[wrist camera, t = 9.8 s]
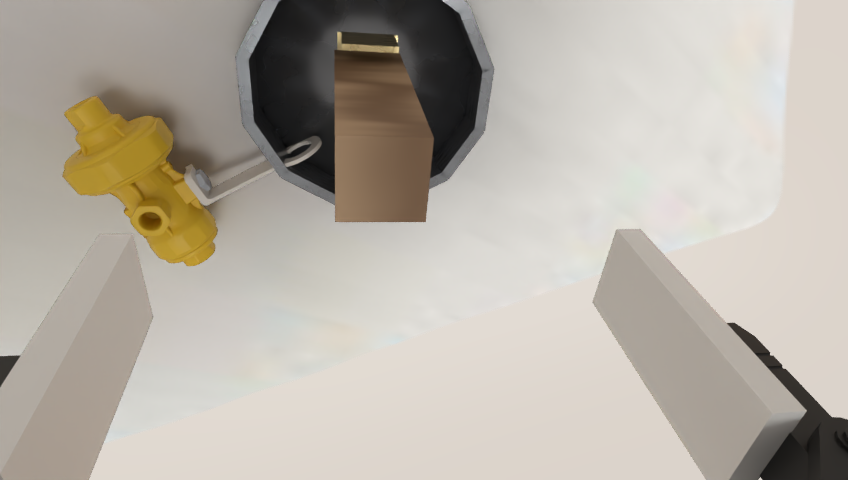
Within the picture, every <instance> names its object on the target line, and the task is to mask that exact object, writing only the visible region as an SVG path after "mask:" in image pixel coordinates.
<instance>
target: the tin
mask: <svg viewBox="0 0 848 480" xmlns="http://www.w3.org/2000/svg"><path fill="white" fill-rule="evenodd" d="M334 50H348V51H367V52H386V53H400V55H401V58H402V60H403V63H404V65H405V68H406V70H407V73H408V75H409V78H410V80H411V82H412V85H413V87H414V90H415V92H416V95H417V97H418V100H419V102H420V105H421V107H422V110H423V112H424V115H425V117H426V120H427V122H428V125H429V127H430V129H431V132H432V134H433V137H434V143H433V153H432V163H431V173H430V182H429V189H430V188H433V187H435V186H437V185H439V184H441V183H443V182H445V181H447V179H449V178H450V177H451V176H452V174H453V173H454V172H455V170H456V169H457V168H458V166H459V165H460V164H461V162H462V161H463V160H464V158H465V157H466V156H467V154H468V153H469V152H470V150H471V149H472V148H473V146H474V145H475V144H476V142H477V141H478V140H479V138H480V137H481V136H482V135H483V133H484V131H485V126H486V119H487V113H488V106H489V100H490V93H491V87H492V80H493V74H494V69H493V68H494V67H493V64H492V62H491V59H490V56H489V54H488V51H487V49H486V46H485V43H484V41H483V38H482V36H481V33H480V30H479V28H478V25H477V23H476V20H475V18H474V15H473V12H472V10H471V7H470V5H469V4H468V3H467V2H466V1H465V0H263V2H262V4H261V6H260V8H259V10H258V12H257V14H256V16H255V18H254V20H253V22H252V24H251V26H250V28H249V30H248V32H247V34H246V36H245V38H244V40H243V42H242V44H241V46H240V48H239V50H238V52H237V54H236V67H237V77H238V87H239V97H240V107H241V117H242V124H243V126H244V128H245V129H246V130H247V132H248V133H249V135H250V136H251V137H252V139H253V140H254V142H255V143H256V144H257V146H258V147H259V149H260V150H261V151H262V153H263V154H264V156H265V157H266V158H267V160H268V161H269V163H270V164H271V165H272V167H273V168H274V169H275V171H276V172H277V174H278V175H279V176H280V177H281V178H282V179H284V180H286V181H288V182H290V183H292V184H294V185H296V186H298V187H300V188H302V189H304V190H306V191H308V192H310V193H312V194H314V195H316V196H318V197H320V198H322V199H324V200H326V201H328V202H330V203H332V204H334V205H335V95H334ZM312 136H318V137H319V138H320V139H321V141H322V145H321V146H320V148H319V149H318V150H317V151H316V152H315V153H314V154H313V155H311V156H310V157H308V158H307V159H305V160H303V161H301V162H300V163H297V164H295V165H292V166H288V167H286V166H285V164H284V162H285V159H288V158H292V157H295V156H297V155H300V154H301V153H303V152H304V151H306V150H307V149H308V148H309V147H310V146H311V144H307V145H303V146H301V147H298V148H296V149H295V150H293V151H292V152H290V153H289V154H288V152H287V147H289V146H292V145H294V144H296V143H298V142H301V141H303V140H305V139H308V138H310V137H312Z"/></svg>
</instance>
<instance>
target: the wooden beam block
mask: <svg viewBox="0 0 848 480" xmlns="http://www.w3.org/2000/svg"><path fill="white" fill-rule="evenodd" d="M334 95H335V222H426V212H427V202H428V192H429V182H430V173H431V163H432V153H433V143H434V137H433V134H432V132H431V129H430V127H429V125H428V122H427V120H426V117H425V115H424V112H423V110H422V107H421V105H420V102H419V100H418V97H417V95H416V92H415V90H414V87H413V85H412V82H411V80H410V78H409V75H408V73H407V70H406V68H405V65H404V63H403V60H402V58H401V55H400V53H386V52H367V51H348V50H334Z"/></svg>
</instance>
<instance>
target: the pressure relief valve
mask: <svg viewBox="0 0 848 480" xmlns="http://www.w3.org/2000/svg"><path fill="white" fill-rule="evenodd" d="M64 115H65V116H66V118H67V119H68V120H69V121H70V122H71V124H72V125H73V126H74V127H75V129H76V130H77V131H78V134H77V135H76V138H75V139H76V141H77V143H78V144H79V145H80V147H81V149H79V150H78V151H77V152H75V153H74V154H73V155H72V156H71V157H70V158H69V159H68V160H67V161H66V162H65V165H64V169H65V170H64V172H63V177H64V179H65V180H66V181H67V182H68V183H69V184H70V185H71V186H72V188H73V189H74V190H75V191H76V192H77V193H78V194H80V195H90V196H97V195H104V194H108V193H110V194H112V195H114V196H116V197H117V198H118V199H120V201H121V202H122V203H123V204H124V205H125V206H126V208H125V210H124V213H125V214H126V215H127V216H128V217H129V218H130V221H131V224H132V225H133V227H134V228H135V229H136V230H137V231H138V232H139V233H140V234H141V235H143V236H144V238H146V239H147V242H148V243H149V245H150V248H151V249H152V250H153V251H154V252H155V253H156V255H157V256H158V257H159V258H160V259H164V260H166V261H167V262H169V263H179V262H182V261H183V262H184V263H185V264H186V265H187V266H195V265H198V264H200V263H202V262H204V261H205V260H207V259H208V258H209V257H210V256H211V255H212V254H213V253H214V251H215V244H214V243H213V240H214V238H215V237H216V235H217V231H218V229H217V227H216V223H215V219H214V217H213V216H212V215H211V213H210V212H209V211H208V210H207V209H205V208H204V206H207V205H209V204H211V203H213V202H215V201H217V200H219V199H221V198H223V197H225V196H227V195H229V194H231V193H233V192H235V191H237V190H239V189H241V188H242V187H244V186H246V185H248V184H250V183H252V182H254V181H256V180H258V179H260V178H262V177H264V176H266V175H268V174H270V173H272V172H274V171H275V169H274V168H273V167H272V165H271V164H270V163H269V161H268V160H266V161H264V162H262V163H260V164H258V165H256V166H254V167H252V168H250V169H248V170H246V171H244V172H242V173H240V174H238V175H236V176H234V177H232V178H230V179H228V180H226V181H224V182H222V183H220V184H218V185H217V186H215V187H212V185H211V182H210V180H209V179H208V177H207V175H206V174H205V173H204V172H203V171H202V170H200V169H198V170H195V168H194V167H193V166H192V164H190V165H188V166H186V167H185V168H186V172H185V174H182V173H179V172H177V171H175V170H174V169H173V166H172V164H171V163H170V162H169V161H166V158H167V156H168V155H169V153H170V152H171V150H172V148H173V134H172V133H171V131H170V130H169V128H168V127H167V126H166V124H165V123H164V121H163V120H162V119H161V118H154V117H153V116H142V117H139V118H136V119H133V120H131V121H127V120H125V119H124V118H123V117H122V116H121V115H120V114H111V113H110V112H109V110H108V109H107V108H106V106H105V105H104V104H103V103H102V101H101V100H100V99H99V98H98V97H97V96H93V97H90V98H88V99H85V100H83V101H81V102H80V103H78V104H76V105H74V106H72V107H71V108H69V109H68V110H67V111H66V112H65V113H64ZM307 144H311V146H310V147H309V148H308V149H307V150H306V151H304V152H303V153H301V154H300V155H297V156H295V157H292V158H288V159H285V162H284V164H285V166H286V167H288V166H292V165H295V164H297V163H300V162H301V161H303V160H305V159H307V158H308V157H310V156H311V155H313V154H314V153H315V152H316V151H317V150H318V149H319V148H320V146H321V145H322V141H321V139H320V138H319V137H318V136H312V137H310V138H308V139H305V140H303V141H301V142H298V143H296V144H294V145H292V146H289V147H287V152H288V154H289V153H290V152H292V151H293V150H295V149H296V148H298V147H301V146H303V145H307ZM200 202H201V204H202V205H201V204H200ZM203 205H204V206H203Z"/></svg>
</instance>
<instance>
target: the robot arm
mask: <svg viewBox="0 0 848 480" xmlns="http://www.w3.org/2000/svg"><path fill="white" fill-rule="evenodd" d="M593 304H594V305H595V307H596V309H597V310H598V312H599V313H600V315H601V316H602V318H603V320H604V321H605V323H606V324H607V326H608V327H609V329H610V330H611V332H612V334H613V335H614V337H615V338H616V340H617V341H618V343H619V344H620V346H621V347H622V349H623V351H624V352H625V354H626V355H627V357H628V359H629V360H630V362H631V363H632V365H633V366H634V368H635V369H636V371H637V372H638V374H639V376H640V377H641V379H642V380H643V382H644V384H645V385H646V387H647V388H648V390H649V391H650V393H651V394H652V396H653V397H654V399H655V401H656V402H657V404H658V405H659V407H660V408H661V410H662V412H663V413H664V415H665V416H666V418H667V419H668V421H669V422H670V424H671V425H672V427H673V429H674V430H675V432H676V433H677V435H678V437H679V438H680V440H681V441H682V443H683V444H684V446H685V447H686V449H687V450H688V452H689V454H690V455H691V457H692V458H693V460H694V462H695V463H696V465H697V466H698V468H699V469H700V471H701V472H702V474H703V475H704V477H705V479H706V480H758V479H759V478H760V477H761V478H762V480H848V420H847V419H843V418H834V417H831V416H830V415H829V414H828V413H827V412H826V411H825V410H824V409H823V408H822V407H821V406H820V404H819V403H818V402H817V401H816V400H815V399H814V398H813V397H812V396H811V395H810V394H809V393H808V392H807V391H806V390H805V389H804V388H803V387H802V385H800V384H799V382H798V381H797V380H796V379H795V378H794V377H793V376H792V375H791V374H790V373H789V372H788V371H787V370H786V369H783V368H782V364H781V363H779V361H778V360H777V359H776V358H775V357H774V356H770V352H769V351H768V350H767V349H766V348H765V347H764V346H763V345H762V344H761V342H760V341H759V340H758V339H757V338H756V337H755V336H753V335H752V334H750V333H749V332H747V331H746V330H744V329H743V328H741V327H740V326H738V325H737V324H735V323H726V322H725V321H724V320H723V319H722V318H721V317H720V316H719V314H718V313H717V312H716V311H715V310H714V309H713V308H712V307H711V306H710V305H709V303H708V302H707V301H706V300H705V299H704V298H703V297H702V296H701V295H700V294H699V293H698V291H697V290H696V289H695V288H694V287H693V286H692V285H691V284H690V283H689V282H688V281H687V279H686V278H685V277H684V276H683V275H682V274H681V273H680V272H679V271H678V270H677V269H676V267H675V266H674V265H673V264H672V263H671V262H670V261H669V260H668V259H667V258H666V257H665V255H664V254H663V253H662V252H661V251H660V250H659V249H658V248H657V247H656V246H655V245H654V243H653V242H652V241H651V240H650V239H649V238H648V237H647V236H646V235H645V234H644V233H643V231H642V230H641V229H616V232H615V235H614V238H613V241H612V244H611V247H610V251H609V254H608V257H607V260H606V263H605V266H604V269H603V272H602V275H601V278H600V281H599V284H598V287H597V290H596V293H595V297H594V299H593ZM152 319H153V314H152V310H151V306H150V302H149V298H148V294H147V290H146V286H145V282H144V278H143V274H142V270H141V266H140V262H139V258H138V253H137V249H136V245H135V241H134V237H133V234H99V235H98V237H97V238H96V240H95V241H94V243H93V244H92V246H91V247H90V249H89V251H88V252H87V254H86V255H85V257H84V258H83V260H82V261H81V263H80V264H79V266H78V268H77V269H76V271H75V272H74V274H73V275H72V277H71V278H70V280H69V282H68V283H67V285H66V286H65V288H64V289H63V291H62V292H61V294H60V295H59V297H58V299H57V300H56V302H55V303H54V305H53V306H52V308H51V309H50V311H49V312H48V314H47V316H46V317H45V319H44V320H43V322H42V323H41V325H40V326H39V328H38V329H37V331H36V333H35V334H34V336H33V337H32V339H31V340H30V342H29V343H28V345H27V346H26V348H25V350H24V351H23V353H22V354H21V356H0V480H89V478H90V475H91V473H92V470H93V468H94V465H95V463H96V460H97V458H98V455H99V453H100V450H101V448H102V445H103V443H104V440H105V438H106V435H107V433H108V430H109V428H110V425H111V423H112V420H113V418H114V415H115V412H116V410H117V407H118V405H119V402H120V400H121V397H122V395H123V392H124V390H125V387H126V385H127V382H128V380H129V377H130V375H131V372H132V370H133V367H134V365H135V362H136V360H137V357H138V355H139V352H140V349H141V347H142V344H143V342H144V339H145V337H146V334H147V332H148V329H149V327H150V324H151V322H152Z"/></svg>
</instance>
